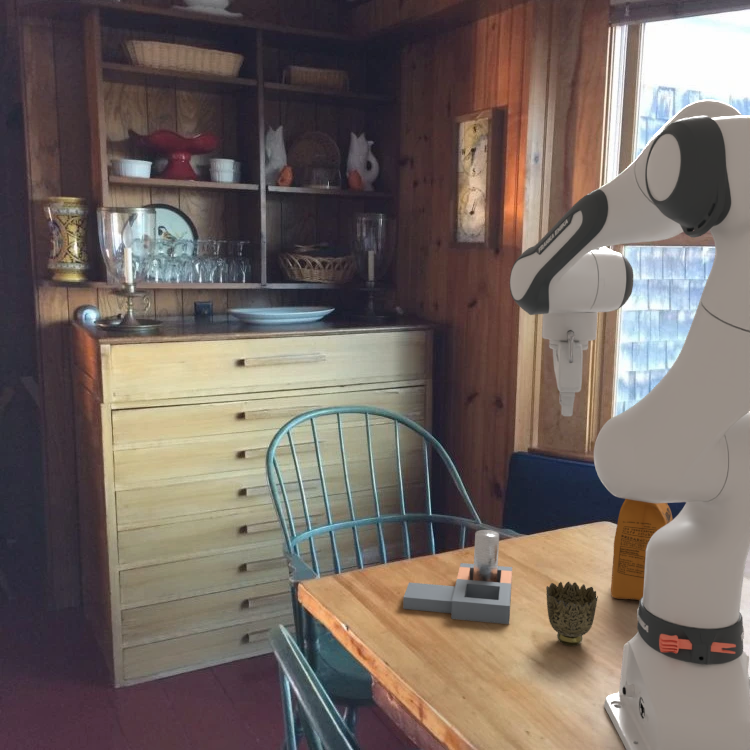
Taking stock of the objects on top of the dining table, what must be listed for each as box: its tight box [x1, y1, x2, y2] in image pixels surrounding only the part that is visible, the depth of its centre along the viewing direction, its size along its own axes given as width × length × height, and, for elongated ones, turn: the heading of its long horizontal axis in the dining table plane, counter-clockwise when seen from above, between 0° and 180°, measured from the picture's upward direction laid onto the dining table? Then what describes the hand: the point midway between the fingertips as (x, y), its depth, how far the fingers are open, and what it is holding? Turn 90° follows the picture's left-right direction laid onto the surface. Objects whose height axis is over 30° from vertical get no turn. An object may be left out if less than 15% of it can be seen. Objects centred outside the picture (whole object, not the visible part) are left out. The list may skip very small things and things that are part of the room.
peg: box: [473, 529, 500, 582], centre depth 135 cm, size 4×4×10 cm
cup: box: [545, 581, 599, 647], centre depth 118 cm, size 8×7×8 cm
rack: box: [402, 562, 513, 625], centre depth 133 cm, size 16×17×3 cm
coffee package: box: [610, 499, 674, 602], centre depth 135 cm, size 10×12×22 cm
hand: (565, 410), depth 135 cm, fingers open, 8 cm apart
